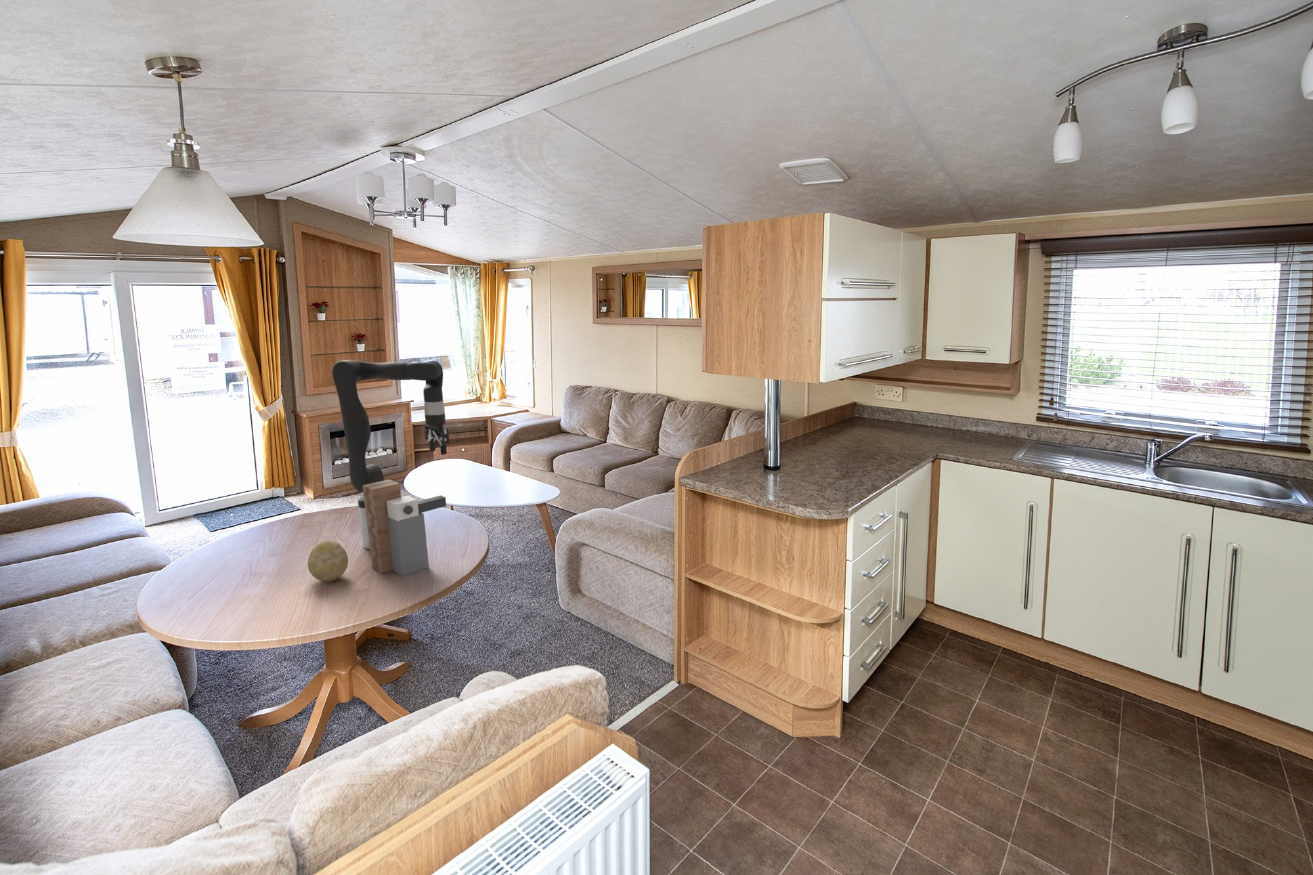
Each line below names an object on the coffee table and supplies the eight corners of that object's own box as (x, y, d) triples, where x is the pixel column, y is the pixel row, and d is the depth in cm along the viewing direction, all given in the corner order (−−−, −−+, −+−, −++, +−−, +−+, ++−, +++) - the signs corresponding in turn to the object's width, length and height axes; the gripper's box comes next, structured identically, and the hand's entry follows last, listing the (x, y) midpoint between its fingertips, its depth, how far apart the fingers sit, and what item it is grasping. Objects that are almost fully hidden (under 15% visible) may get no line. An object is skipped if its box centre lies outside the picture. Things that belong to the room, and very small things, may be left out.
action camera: (387, 516, 227) (385, 500, 226) (438, 502, 242) (436, 487, 240) (399, 521, 221) (397, 505, 220) (450, 507, 236) (449, 492, 235)
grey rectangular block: (392, 570, 232) (386, 516, 227) (418, 561, 239) (412, 509, 235) (403, 576, 227) (397, 521, 222) (428, 567, 234) (423, 513, 229)
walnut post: (372, 567, 234) (362, 485, 227) (398, 559, 241) (389, 479, 235) (382, 573, 229) (372, 489, 222) (408, 565, 236) (399, 483, 229)
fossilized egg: (357, 576, 227) (353, 537, 223) (324, 590, 216) (318, 549, 213) (336, 569, 233) (331, 531, 230) (302, 582, 222) (297, 543, 219)
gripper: (416, 411, 248) (420, 451, 251) (435, 415, 238) (438, 457, 242) (434, 409, 253) (437, 448, 256) (453, 413, 244) (456, 453, 247)
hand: (438, 452), depth 249 cm, fingers open, 8 cm apart
